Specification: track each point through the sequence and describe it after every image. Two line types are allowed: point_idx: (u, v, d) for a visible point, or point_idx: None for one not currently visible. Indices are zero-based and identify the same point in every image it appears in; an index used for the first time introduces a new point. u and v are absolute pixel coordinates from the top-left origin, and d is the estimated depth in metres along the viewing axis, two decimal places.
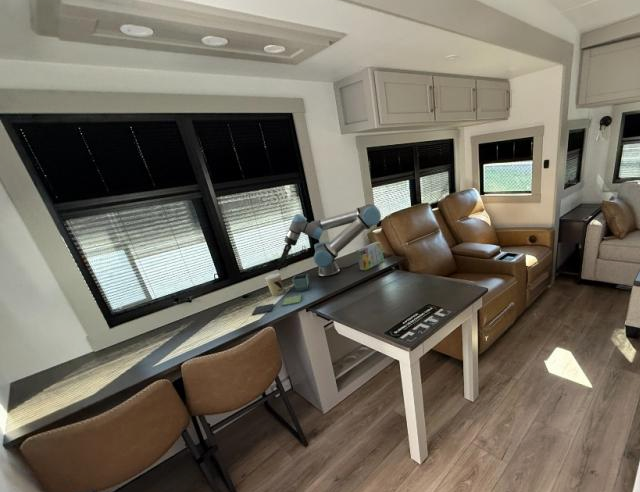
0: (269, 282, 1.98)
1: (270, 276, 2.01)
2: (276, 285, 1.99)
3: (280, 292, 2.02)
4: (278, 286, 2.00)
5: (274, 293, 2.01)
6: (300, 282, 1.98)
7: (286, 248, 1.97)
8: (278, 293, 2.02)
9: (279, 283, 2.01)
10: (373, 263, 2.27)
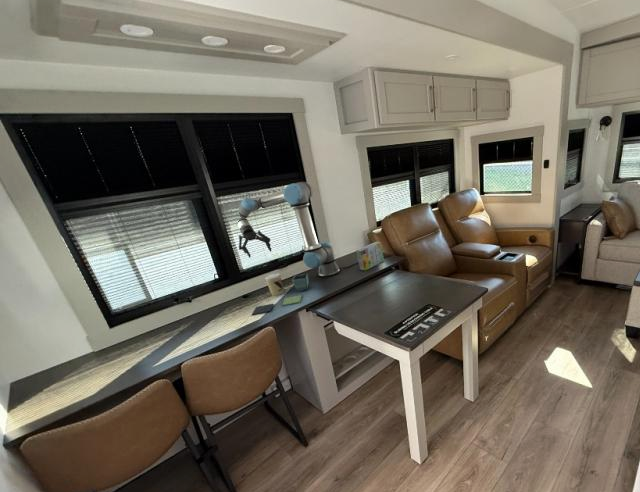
0: (269, 282, 1.98)
1: (270, 276, 2.01)
2: (276, 285, 1.99)
3: (280, 292, 2.02)
4: (278, 286, 2.00)
5: (274, 293, 2.01)
6: (300, 282, 1.98)
7: (239, 238, 2.03)
8: (278, 293, 2.02)
9: (279, 283, 2.01)
10: (373, 263, 2.27)
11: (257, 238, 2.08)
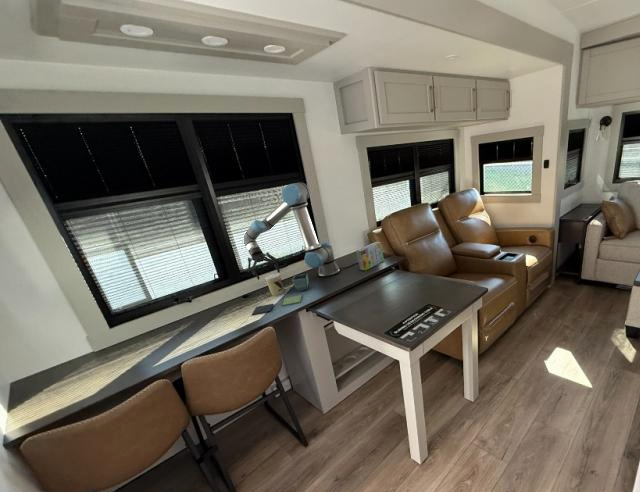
0: (269, 282, 1.98)
1: (270, 276, 2.01)
2: (276, 285, 1.99)
3: (280, 292, 2.02)
4: (278, 286, 2.00)
5: (274, 293, 2.01)
6: (300, 282, 1.98)
7: (248, 260, 2.05)
8: (278, 293, 2.02)
9: (279, 283, 2.01)
10: (373, 263, 2.27)
11: (266, 260, 2.10)
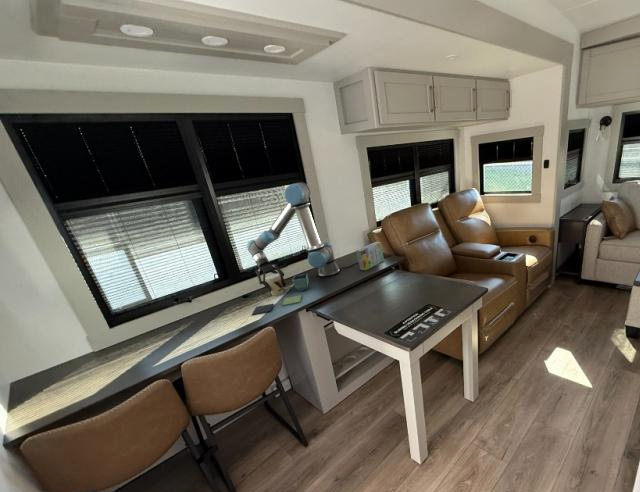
0: (269, 282, 1.98)
1: (270, 276, 2.01)
2: (276, 285, 1.99)
3: (280, 292, 2.02)
4: (278, 286, 2.00)
5: (274, 293, 2.01)
6: (300, 282, 1.98)
7: (256, 272, 2.01)
8: (278, 293, 2.02)
9: (279, 283, 2.01)
10: (373, 263, 2.27)
11: (272, 271, 2.06)
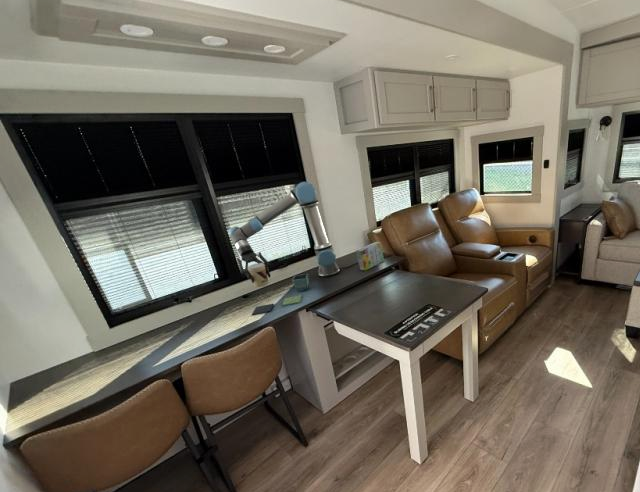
0: (251, 272, 1.79)
1: (253, 266, 1.82)
2: (259, 276, 1.80)
3: (264, 284, 1.83)
4: (261, 277, 1.81)
5: (257, 284, 1.82)
6: (300, 282, 1.98)
7: (238, 261, 1.82)
8: (262, 284, 1.82)
9: (263, 273, 1.81)
10: (373, 263, 2.27)
11: (256, 261, 1.87)
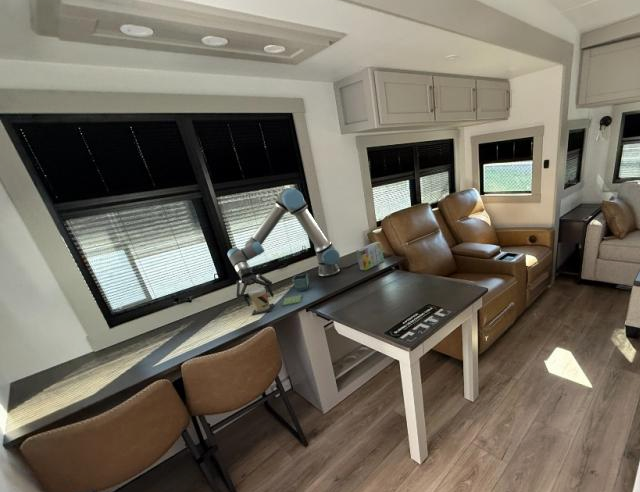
0: (252, 297, 1.75)
1: (254, 290, 1.78)
2: (260, 300, 1.77)
3: (264, 308, 1.79)
4: (262, 302, 1.77)
5: (258, 309, 1.78)
6: (300, 282, 1.98)
7: None
8: (263, 309, 1.79)
9: (264, 298, 1.78)
10: (373, 263, 2.27)
11: (257, 282, 1.83)
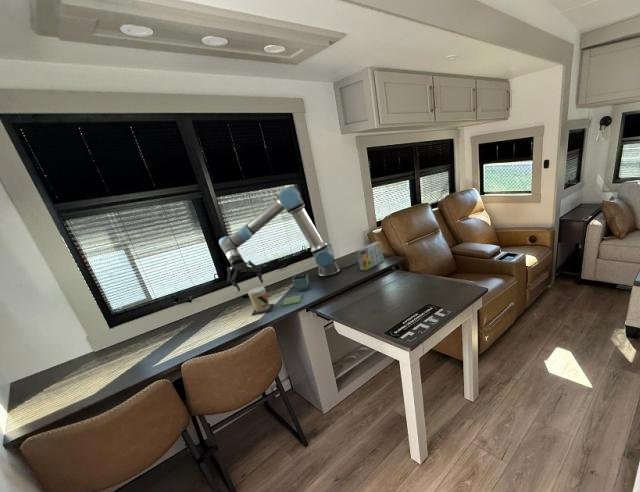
0: (252, 297, 1.75)
1: (254, 290, 1.78)
2: (260, 300, 1.77)
3: (264, 308, 1.79)
4: (262, 302, 1.77)
5: (258, 309, 1.78)
6: (300, 282, 1.98)
7: None
8: (263, 309, 1.79)
9: (264, 298, 1.78)
10: (373, 263, 2.27)
11: (247, 269, 1.92)
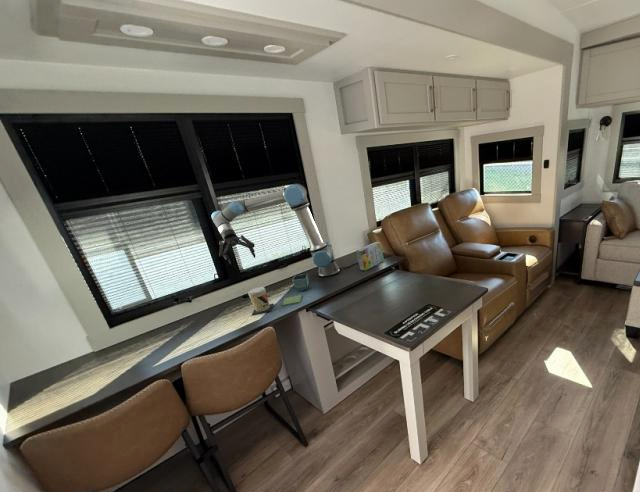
0: (252, 297, 1.75)
1: (254, 290, 1.78)
2: (260, 300, 1.77)
3: (264, 308, 1.79)
4: (262, 302, 1.77)
5: (258, 309, 1.78)
6: (300, 282, 1.98)
7: None
8: (263, 309, 1.79)
9: (264, 298, 1.78)
10: (373, 263, 2.27)
11: (240, 243, 1.90)
